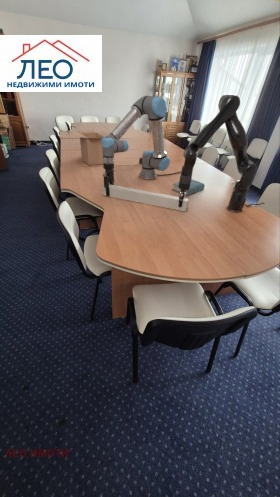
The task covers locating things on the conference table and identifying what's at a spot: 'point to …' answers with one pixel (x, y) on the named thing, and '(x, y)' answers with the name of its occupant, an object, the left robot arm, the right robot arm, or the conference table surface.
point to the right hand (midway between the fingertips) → (180, 205)
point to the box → (91, 146)
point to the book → (194, 187)
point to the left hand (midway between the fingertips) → (109, 194)
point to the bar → (146, 197)
